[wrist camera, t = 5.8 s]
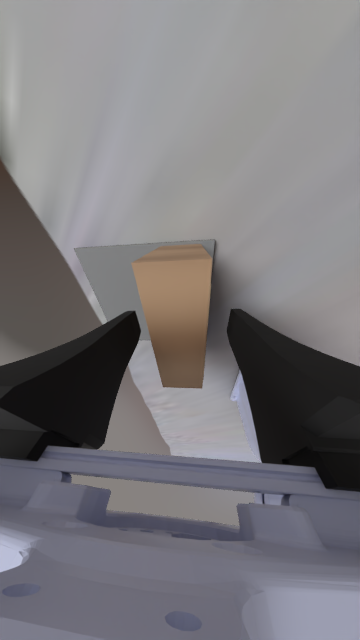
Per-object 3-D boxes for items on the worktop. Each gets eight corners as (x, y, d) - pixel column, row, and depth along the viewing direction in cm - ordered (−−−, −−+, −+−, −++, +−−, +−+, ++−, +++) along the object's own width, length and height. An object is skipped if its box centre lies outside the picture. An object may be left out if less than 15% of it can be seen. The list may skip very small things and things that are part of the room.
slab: (198, 335, 15) (202, 388, 10) (171, 335, 15) (162, 387, 10) (201, 243, 9) (213, 258, 5) (159, 246, 10) (130, 263, 5)
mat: (206, 337, 15) (206, 340, 15) (117, 338, 16) (116, 340, 16) (213, 239, 10) (214, 239, 9) (77, 247, 11) (73, 248, 10)
